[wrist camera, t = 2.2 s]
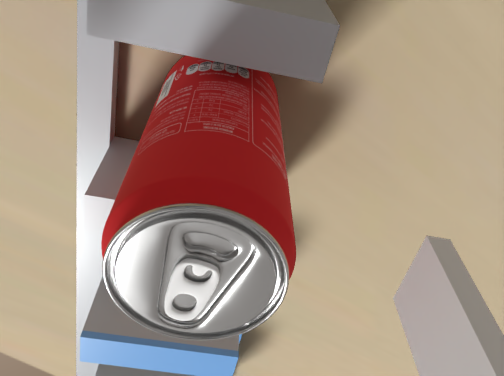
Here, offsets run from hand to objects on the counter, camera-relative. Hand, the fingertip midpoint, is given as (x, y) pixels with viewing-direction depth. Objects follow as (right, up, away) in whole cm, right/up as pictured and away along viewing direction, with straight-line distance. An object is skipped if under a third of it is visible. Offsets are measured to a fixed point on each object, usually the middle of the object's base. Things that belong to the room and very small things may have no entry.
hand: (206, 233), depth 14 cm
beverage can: (0, +6, +8) cm, 10 cm away
